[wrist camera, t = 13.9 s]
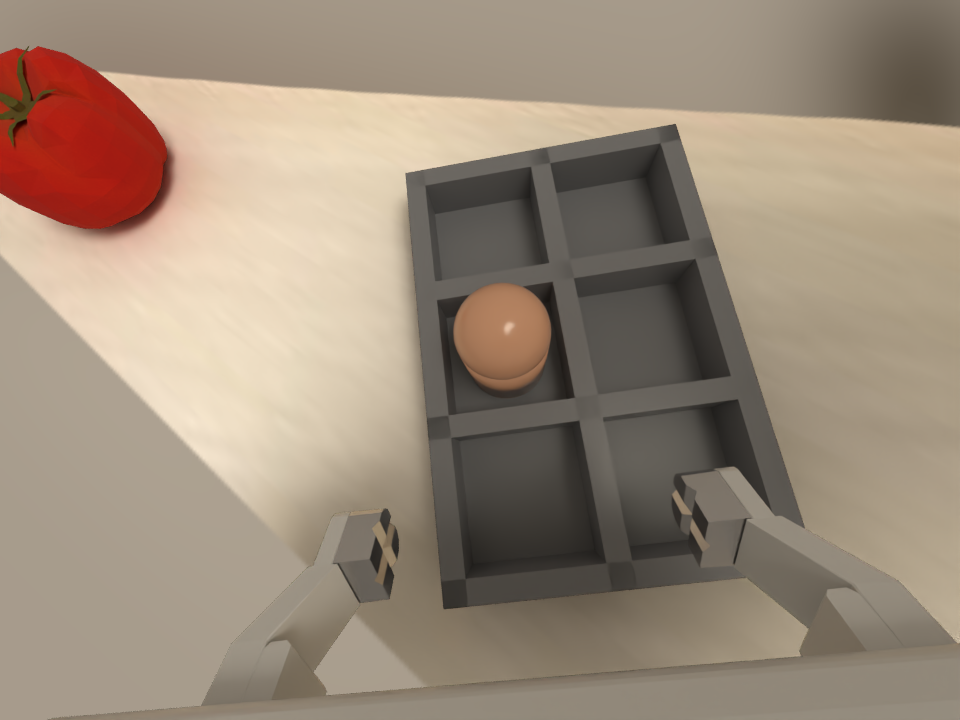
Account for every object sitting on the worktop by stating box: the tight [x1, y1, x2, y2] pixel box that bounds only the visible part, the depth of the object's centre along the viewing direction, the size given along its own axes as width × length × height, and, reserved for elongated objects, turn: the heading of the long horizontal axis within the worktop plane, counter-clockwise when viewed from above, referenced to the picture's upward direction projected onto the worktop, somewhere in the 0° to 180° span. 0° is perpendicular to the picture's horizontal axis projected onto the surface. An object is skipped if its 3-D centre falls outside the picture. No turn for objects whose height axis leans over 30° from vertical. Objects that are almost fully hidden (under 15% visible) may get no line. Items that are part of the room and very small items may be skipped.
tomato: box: [0, 46, 167, 229], centre depth 29 cm, size 11×12×9 cm
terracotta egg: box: [453, 283, 551, 399], centre depth 21 cm, size 5×5×8 cm
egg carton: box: [406, 124, 805, 609], centre depth 24 cm, size 17×25×4 cm
